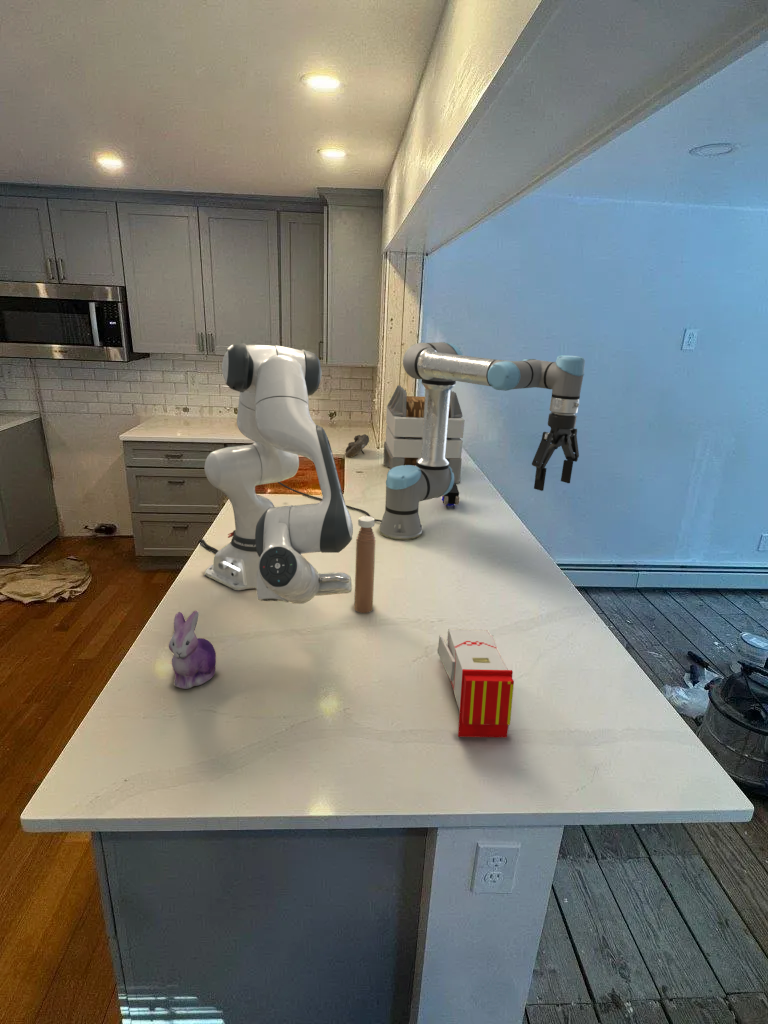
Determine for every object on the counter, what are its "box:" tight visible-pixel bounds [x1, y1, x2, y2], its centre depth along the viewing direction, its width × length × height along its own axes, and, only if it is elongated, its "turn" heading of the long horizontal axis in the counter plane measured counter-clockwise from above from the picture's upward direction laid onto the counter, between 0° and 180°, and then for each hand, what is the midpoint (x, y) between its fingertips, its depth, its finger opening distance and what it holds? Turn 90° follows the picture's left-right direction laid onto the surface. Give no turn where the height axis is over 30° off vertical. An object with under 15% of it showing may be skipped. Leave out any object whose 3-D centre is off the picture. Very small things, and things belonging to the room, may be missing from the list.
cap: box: [357, 515, 376, 528], centre depth 141 cm, size 4×4×2 cm
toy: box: [437, 628, 515, 738], centre depth 117 cm, size 12×13×30 cm
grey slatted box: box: [383, 384, 465, 484], centre depth 268 cm, size 34×33×41 cm
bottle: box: [353, 527, 376, 614], centre depth 145 cm, size 5×5×25 cm
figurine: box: [168, 610, 217, 690], centre depth 117 cm, size 9×10×15 cm
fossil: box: [344, 433, 370, 458], centre depth 304 cm, size 22×10×15 cm
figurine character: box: [441, 483, 460, 509], centre depth 231 cm, size 7×8×15 cm
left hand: (311, 592), depth 130 cm, fingers open, 8 cm apart
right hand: (552, 485), depth 166 cm, fingers open, 13 cm apart
